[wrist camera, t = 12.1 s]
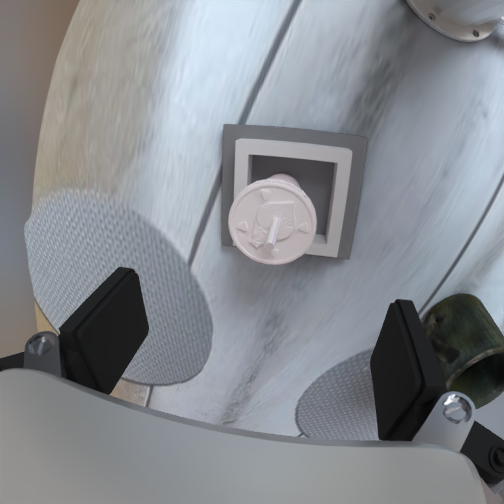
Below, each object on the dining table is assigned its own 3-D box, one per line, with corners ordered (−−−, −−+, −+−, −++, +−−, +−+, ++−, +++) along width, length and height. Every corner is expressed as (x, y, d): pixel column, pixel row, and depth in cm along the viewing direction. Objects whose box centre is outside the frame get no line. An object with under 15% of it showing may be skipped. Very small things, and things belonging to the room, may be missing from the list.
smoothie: (327, 189, 29) (342, 251, 17) (284, 233, 32) (269, 316, 20) (278, 146, 28) (255, 175, 16) (237, 193, 31) (189, 254, 19)
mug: (448, 359, 37) (469, 420, 27) (385, 324, 36) (402, 395, 26) (496, 309, 32) (531, 365, 22) (439, 261, 31) (480, 323, 21)
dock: (365, 137, 27) (373, 140, 24) (347, 254, 33) (351, 270, 30) (226, 124, 29) (216, 125, 26) (224, 240, 35) (215, 255, 32)
